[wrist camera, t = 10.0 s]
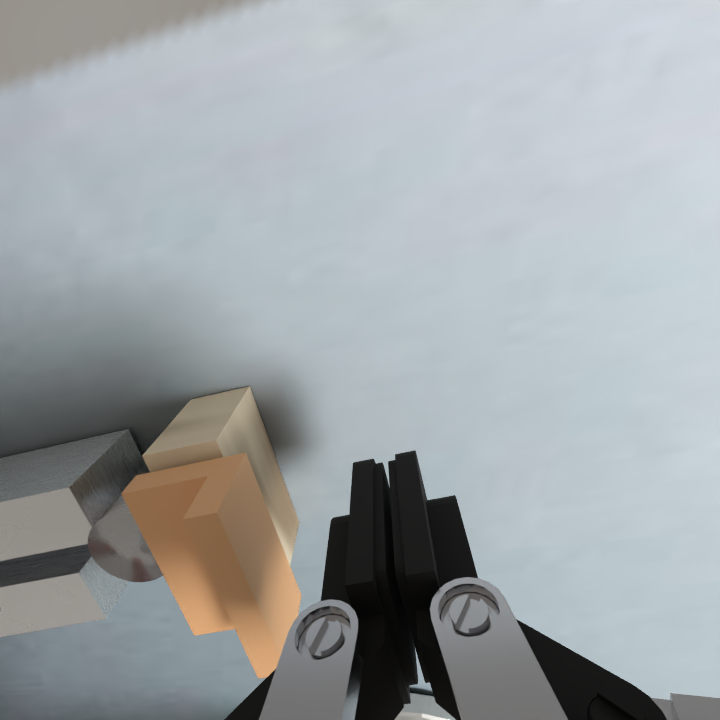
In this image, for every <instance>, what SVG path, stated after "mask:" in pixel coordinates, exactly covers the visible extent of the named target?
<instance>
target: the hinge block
mask: <svg viewBox="0 0 720 720" xmlns="http://www.w3.org/2000/svg"><path fill="white" fill-rule="evenodd" d="M241 453H246V454H247V457H248V459H249V462H250V465H251V467H252V470H253V472H254V475H255V477H256V480H257V483H258V485H259V488H260V490H261V493H262V495H263V498H264V501H265V503H266V506H267V508H268V511H269V513H270V516H271V519H272V521H273V524H274V526H275V529H276V531H277V534H278V537H279V539H280V542H281V544H282V547H283V549H284V552H285V555H286V557H287V560H288V562H289V565H290V563H291V559H292V554H293V549H294V545H295V540H296V536H297V531H298V526H299V521H298V518H297V515H296V512H295V510H294V507H293V504H292V501H291V499H290V496H289V493H288V490H287V488H286V485H285V482H284V479H283V477H282V474H281V471H280V468H279V466H278V463H277V460H276V457H275V455H274V452H273V449H272V446H271V444H270V441H269V438H268V435H267V433H266V430H265V427H264V424H263V422H262V419H261V416H260V413H259V411H258V408H257V405H256V402H255V400H254V397H253V394H252V391H251V389H250V386H249V387H244V388H240V389H235V390H231V391H226V392H222V393H217V394H213V395H208V396H204V397H200V398H195V399H191V400H190V401H189V402H188V403H187V404H186V405H185V407H184V408H183V409H182V410H181V411H180V412H179V414H178V415H177V416H176V417H175V418H174V419H173V421H172V422H171V423H170V424H169V425H168V426H167V428H166V429H165V430H164V431H163V432H162V433H161V434H160V436H159V437H158V438H157V439H156V440H155V441H154V443H153V444H152V445H151V446H150V447H149V448H148V450H147V451H146V452H145V453H144V454H143V455H142V457H143V459H144V461H145V463H146V465H147V467H148V469H149V471H150V472H155V471H160V470H165V469H169V468H174V467H179V466H184V465H189V464H193V463H198V462H203V461H208V460H213V459H217V458H222V457H227V456H232V455H237V454H241Z"/></svg>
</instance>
